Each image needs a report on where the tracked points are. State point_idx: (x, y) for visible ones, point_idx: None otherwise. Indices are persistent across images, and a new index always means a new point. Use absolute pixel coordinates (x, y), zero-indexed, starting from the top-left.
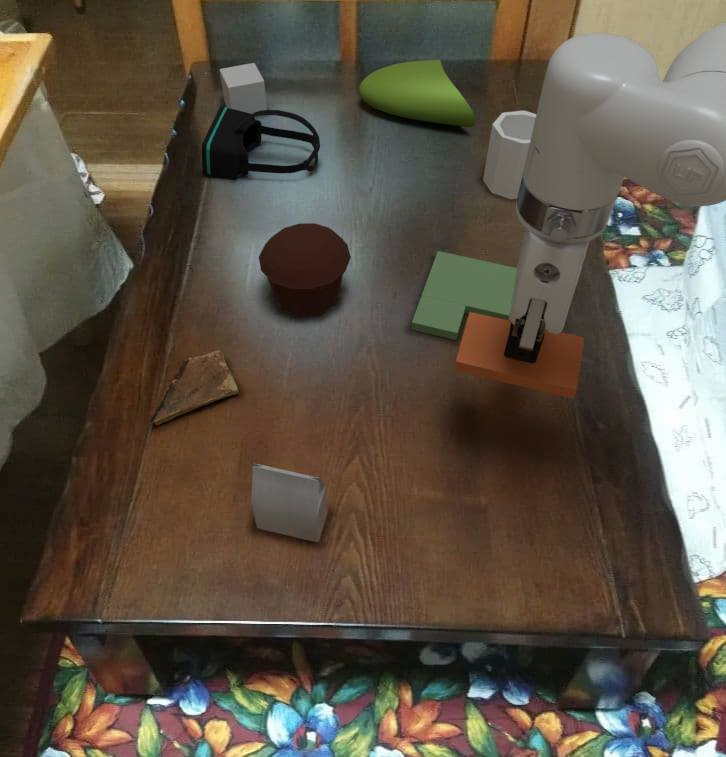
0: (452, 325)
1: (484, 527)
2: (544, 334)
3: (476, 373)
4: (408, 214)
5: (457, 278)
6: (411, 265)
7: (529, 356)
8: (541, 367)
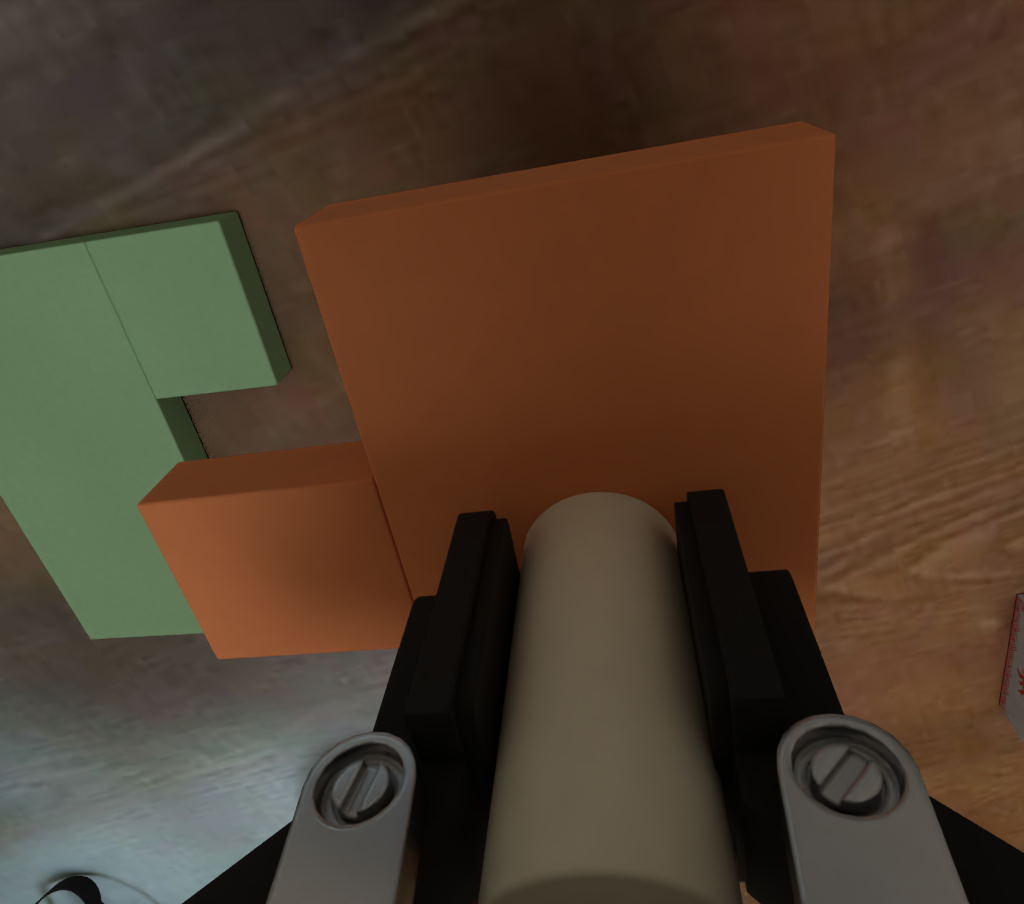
0: None
1: (997, 200)
2: (738, 696)
3: None
4: (33, 706)
5: (140, 573)
6: (175, 658)
7: (796, 594)
8: (700, 421)
